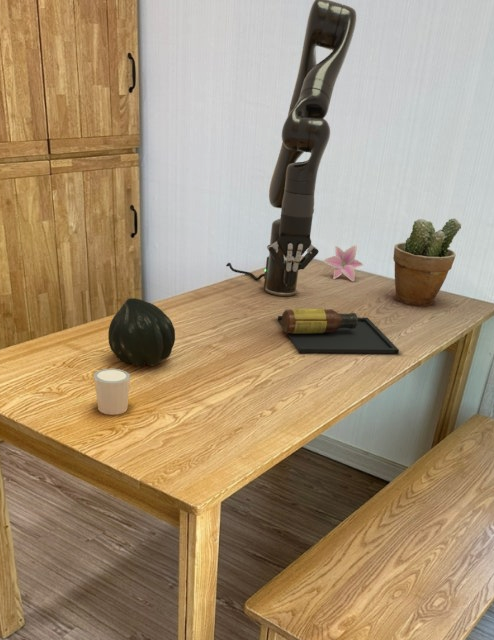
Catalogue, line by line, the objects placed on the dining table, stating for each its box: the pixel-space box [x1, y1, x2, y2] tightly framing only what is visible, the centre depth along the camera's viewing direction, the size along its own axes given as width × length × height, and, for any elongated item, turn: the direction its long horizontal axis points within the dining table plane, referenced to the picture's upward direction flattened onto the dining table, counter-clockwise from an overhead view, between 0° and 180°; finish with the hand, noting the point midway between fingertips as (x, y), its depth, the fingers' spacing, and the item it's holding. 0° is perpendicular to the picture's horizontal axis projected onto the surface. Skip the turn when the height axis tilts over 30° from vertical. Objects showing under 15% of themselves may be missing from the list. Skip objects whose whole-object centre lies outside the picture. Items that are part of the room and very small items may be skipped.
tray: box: [277, 315, 400, 355], centre depth 183 cm, size 26×24×1 cm
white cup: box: [93, 368, 131, 416], centre depth 135 cm, size 7×7×7 cm
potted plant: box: [392, 218, 462, 307], centre depth 211 cm, size 18×19×25 cm
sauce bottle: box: [281, 308, 358, 334], centre depth 182 cm, size 7×6×20 cm
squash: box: [107, 297, 176, 367], centre depth 155 cm, size 14×15×15 cm
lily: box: [323, 244, 364, 282], centre depth 232 cm, size 12×12×10 cm
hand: (288, 285), depth 173 cm, fingers closed
